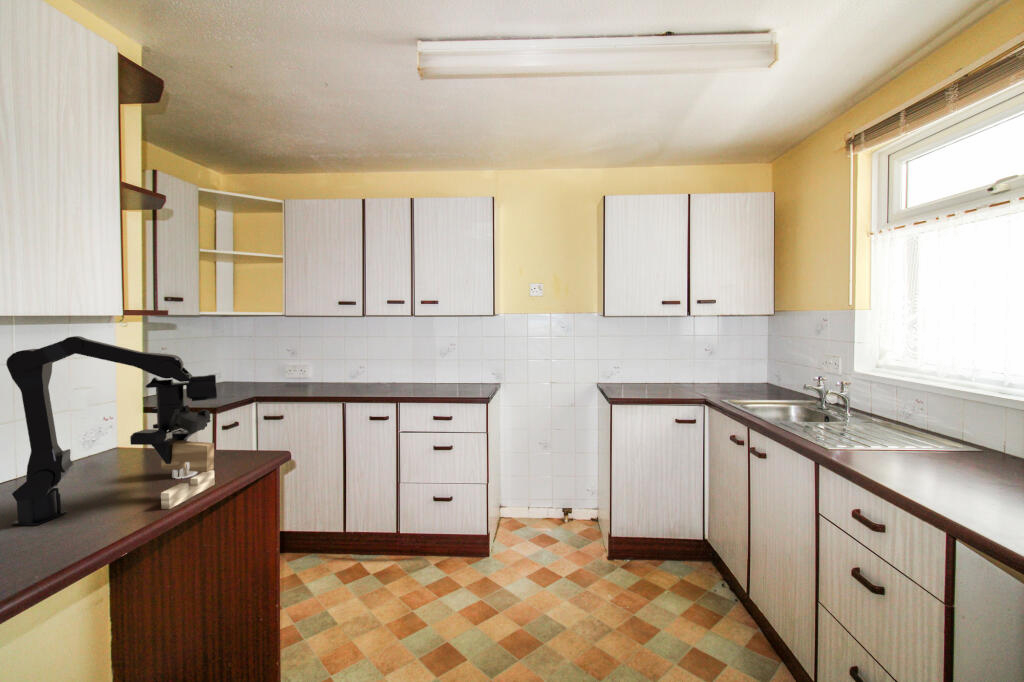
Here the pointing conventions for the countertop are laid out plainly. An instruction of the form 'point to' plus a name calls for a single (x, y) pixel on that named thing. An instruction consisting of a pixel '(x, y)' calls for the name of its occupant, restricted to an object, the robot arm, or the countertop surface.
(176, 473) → the beer glass
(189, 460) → the tan block
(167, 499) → the birch rail
